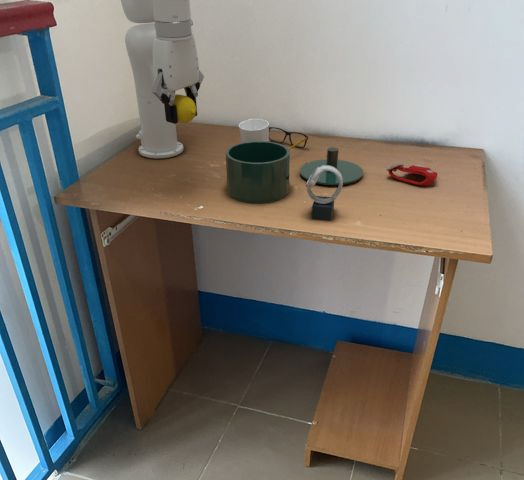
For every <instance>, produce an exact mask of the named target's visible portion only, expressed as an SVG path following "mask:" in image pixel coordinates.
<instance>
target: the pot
mask: <svg viewBox="0 0 524 480" xmlns="http://www.w3.org/2000/svg"><path fill="white" fill-rule="evenodd" d="M288 148H289V147H287V146H285V145H284V144H282V143H277V142H273V141H269V142H267V141H250V142H243V143H241V142H239V143H236V144H233V145H231V146H229V147H228V148H227V149H226V150H225V167H226V168H225V169H226V185H227V186H226V189H227V194H228V195H229V197H231V198H232V199H234V200H236V201H239V202H242V203H248V204H268V203H274V202H276V201H280V200H281V199H284V198H286V196H287V195H288V194H289V191H290V161H291V160H290V159H291V157H290V156H291V152H290V151H291V149H288Z"/></svg>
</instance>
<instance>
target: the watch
mask: <svg viewBox="0 0 524 480" xmlns="http://www.w3.org/2000/svg"><path fill="white" fill-rule="evenodd" d="M325 170H326V171H330V172H334V174H336V175H337V176H338V178H339V180H340V183H339V185H337V186H338V187H337V188H336V190H335V191H334V193H332V194H331V196H322V195H321V196H320V195H315V193H313V190H312V189H313V188H314V187H315V185H316V184H317V183H316V182H317V181H318V179H319V178H320V176H321V174H322V172H323V171H325ZM342 183H343V178H342V175H341V173H340V172H339V171H338V170H337V169H336V168H335V167H333V166H329V165H322V166H321V167H317V168H316V169H315V170H314V172H313V173H312V175H311V176H310V178H309V180H307V182H306V184H305V187H306V188H307V189H306V193H307V195H308V197H309V198H310V200H312V201H313V203H312V205H311V220H314V221H315V220H316V221H326V222H327V221H328V222H332V218H333V214H334V211H335V201H336V200H337V198H338V197H339V195H340V193H341V191H342V189H343V185H344V184H342Z"/></svg>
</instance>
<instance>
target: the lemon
mask: <svg viewBox="0 0 524 480" xmlns="http://www.w3.org/2000/svg"><path fill="white" fill-rule="evenodd" d="M174 105H176V108H177V118H178V122H179V123H183V124H186V123H189V122H192V120H193V119H194V118H195V117H196V116H195V115H196V105H197V104H196V105H195V103H194V101H193V100H192V99H191V98H189V97H187V95H183V94H177V93H175V99H174Z"/></svg>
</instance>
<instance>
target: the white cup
mask: <svg viewBox="0 0 524 480" xmlns="http://www.w3.org/2000/svg"><path fill="white" fill-rule="evenodd" d="M269 127H270V122H269V121H268V120H266V119H263V118H249V119H245V120H243V121H241V122H240V123H238V131H239V140H240V143H243V142H250V141H267V142H270V140H269V136H270V132H269Z"/></svg>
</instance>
